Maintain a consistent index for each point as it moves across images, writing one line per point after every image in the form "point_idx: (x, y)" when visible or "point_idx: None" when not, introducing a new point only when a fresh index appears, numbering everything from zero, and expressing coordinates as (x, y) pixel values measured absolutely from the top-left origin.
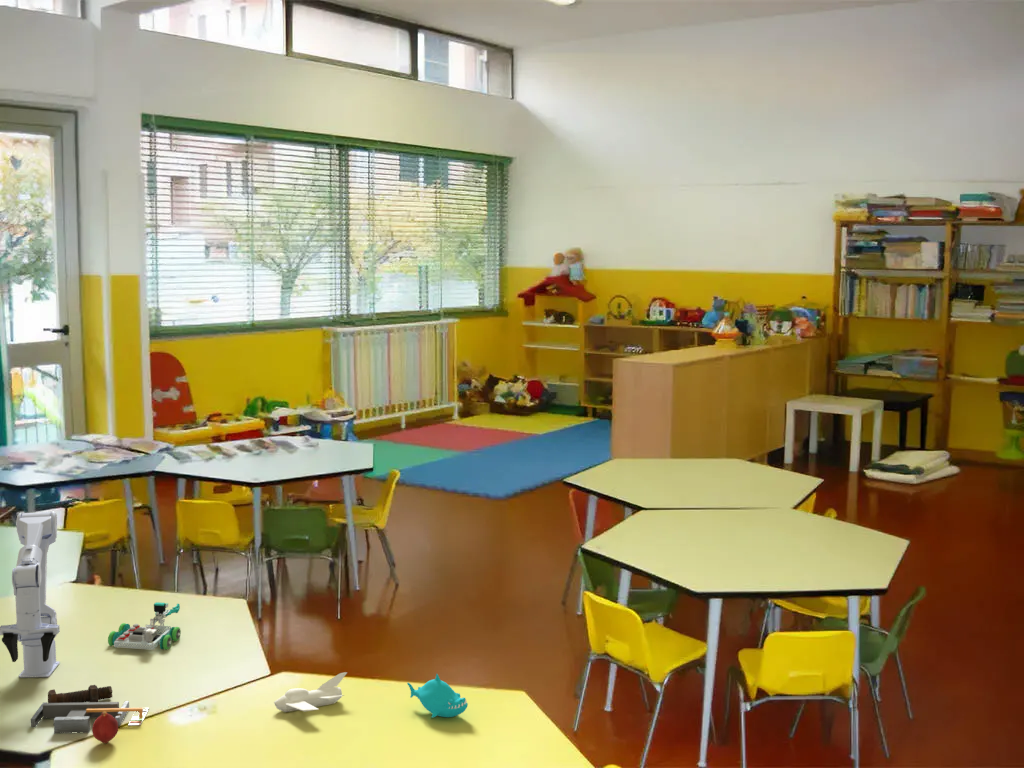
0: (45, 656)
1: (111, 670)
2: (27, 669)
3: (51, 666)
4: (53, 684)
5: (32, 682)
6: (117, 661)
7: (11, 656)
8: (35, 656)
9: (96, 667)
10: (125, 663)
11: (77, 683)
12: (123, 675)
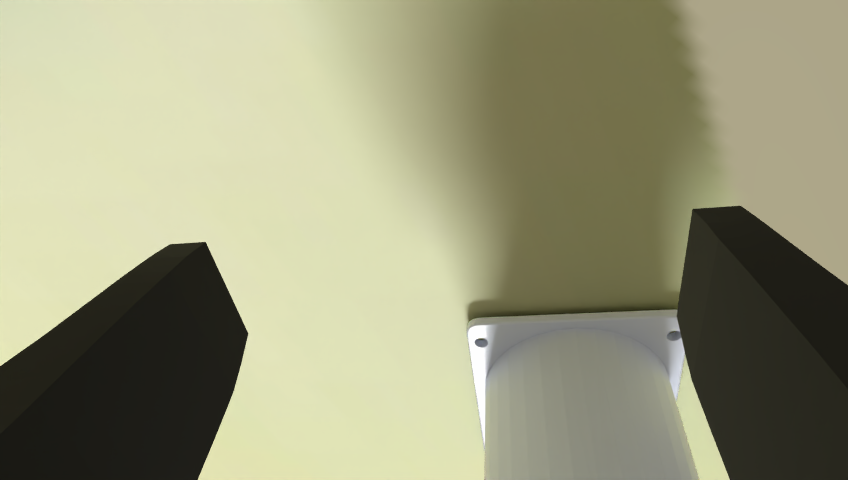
0: (98, 296)
1: None
2: (632, 366)
3: (485, 408)
4: (381, 230)
5: (554, 252)
6: None
7: (807, 265)
8: (574, 460)
9: (256, 418)
10: None
11: (222, 249)
12: None
